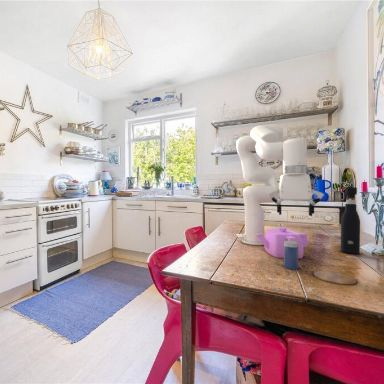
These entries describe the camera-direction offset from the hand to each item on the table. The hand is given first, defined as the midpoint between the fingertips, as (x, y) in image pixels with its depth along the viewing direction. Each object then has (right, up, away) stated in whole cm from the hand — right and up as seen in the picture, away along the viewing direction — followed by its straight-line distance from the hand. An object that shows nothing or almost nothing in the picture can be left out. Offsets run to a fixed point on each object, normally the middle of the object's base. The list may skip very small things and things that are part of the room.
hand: (294, 215), depth 91 cm
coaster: (+6, -21, -10) cm, 24 cm away
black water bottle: (+38, -19, +17) cm, 46 cm away
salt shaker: (-1, -21, 0) cm, 21 cm away
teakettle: (+6, -20, +18) cm, 28 cm away
